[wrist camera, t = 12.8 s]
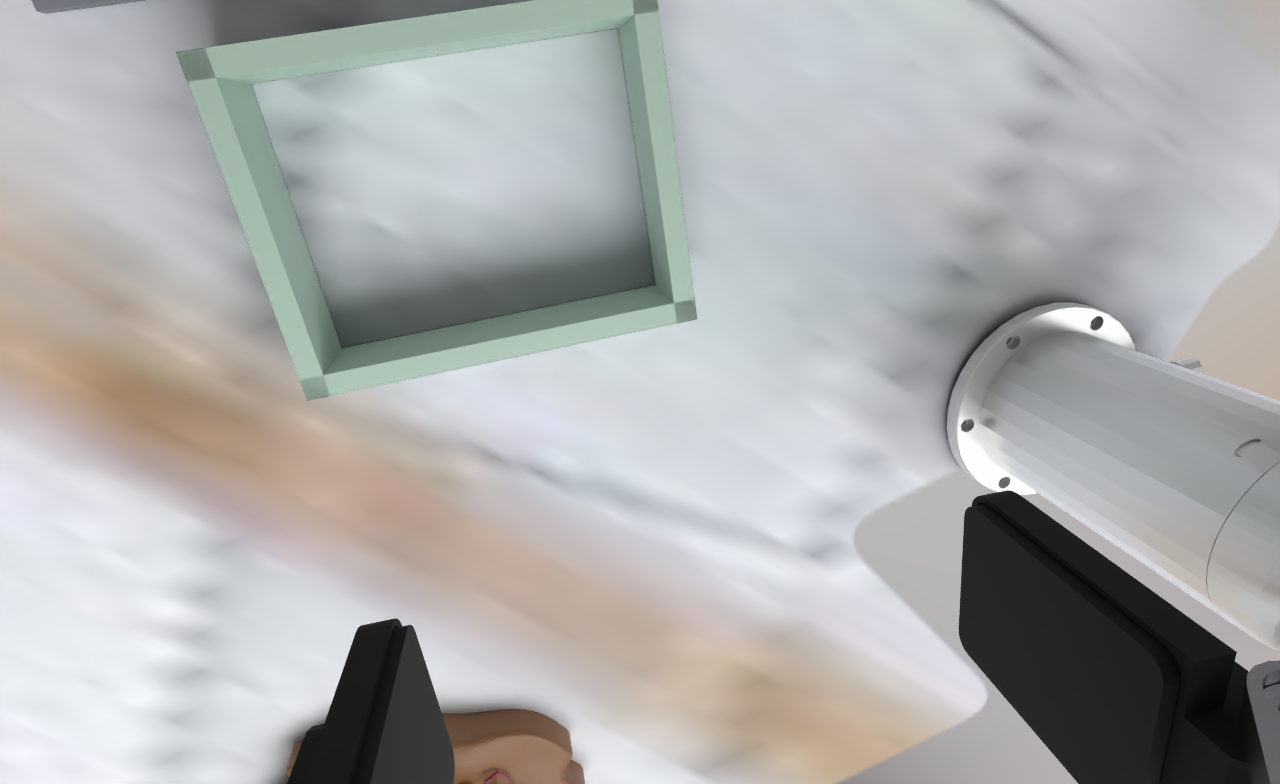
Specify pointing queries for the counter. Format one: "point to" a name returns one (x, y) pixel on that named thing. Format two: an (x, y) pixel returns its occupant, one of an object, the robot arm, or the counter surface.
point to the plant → (506, 749)
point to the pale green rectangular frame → (556, 10)
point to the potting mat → (72, 4)
